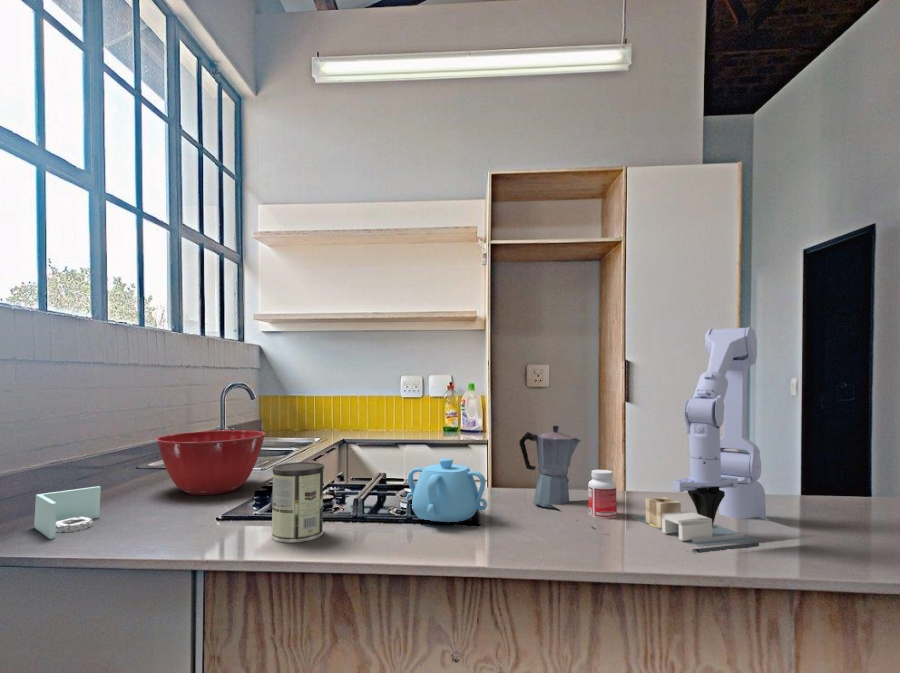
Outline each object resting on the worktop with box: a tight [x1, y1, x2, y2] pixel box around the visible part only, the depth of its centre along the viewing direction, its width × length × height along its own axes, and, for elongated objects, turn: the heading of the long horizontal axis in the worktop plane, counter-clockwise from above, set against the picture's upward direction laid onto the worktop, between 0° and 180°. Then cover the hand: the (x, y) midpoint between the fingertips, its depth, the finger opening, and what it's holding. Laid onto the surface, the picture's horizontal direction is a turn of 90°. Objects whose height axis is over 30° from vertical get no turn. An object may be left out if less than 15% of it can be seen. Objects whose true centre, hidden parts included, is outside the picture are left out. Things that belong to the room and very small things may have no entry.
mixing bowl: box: [156, 429, 266, 496], centre depth 157 cm, size 28×28×15 cm
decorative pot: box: [405, 457, 488, 523], centre depth 128 cm, size 16×16×14 cm
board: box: [630, 514, 760, 554], centre depth 117 cm, size 14×22×4 cm, turn 17°
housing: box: [661, 510, 712, 541], centre depth 111 cm, size 7×6×4 cm
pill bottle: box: [587, 469, 618, 520], centre depth 127 cm, size 6×6×11 cm
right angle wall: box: [33, 485, 102, 540], centre depth 120 cm, size 12×12×8 cm
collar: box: [644, 496, 682, 528], centre depth 119 cm, size 5×5×5 cm
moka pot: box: [519, 425, 582, 509], centre depth 141 cm, size 10×15×20 cm, turn 89°
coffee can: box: [271, 461, 325, 543], centre depth 115 cm, size 10×10×14 cm
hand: (706, 525), depth 112 cm, fingers closed
